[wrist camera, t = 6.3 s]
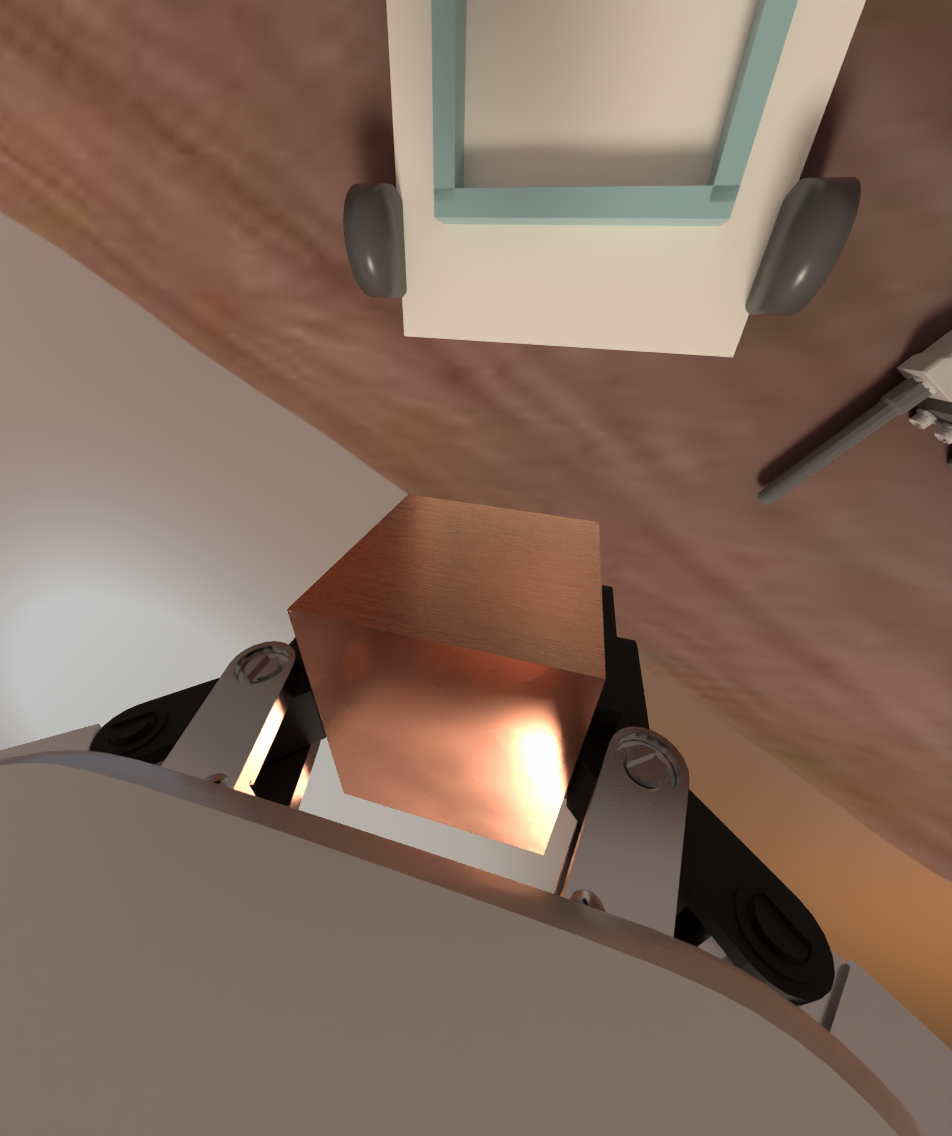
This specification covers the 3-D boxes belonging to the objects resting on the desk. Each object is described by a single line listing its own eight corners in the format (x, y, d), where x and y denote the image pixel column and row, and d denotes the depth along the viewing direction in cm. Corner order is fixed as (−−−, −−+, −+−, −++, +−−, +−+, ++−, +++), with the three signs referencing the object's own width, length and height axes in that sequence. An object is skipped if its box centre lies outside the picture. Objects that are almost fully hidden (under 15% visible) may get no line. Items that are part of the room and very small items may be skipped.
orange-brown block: (598, 522, 9) (606, 679, 5) (558, 682, 13) (543, 855, 8) (408, 494, 10) (286, 609, 6) (418, 651, 13) (343, 793, 9)
